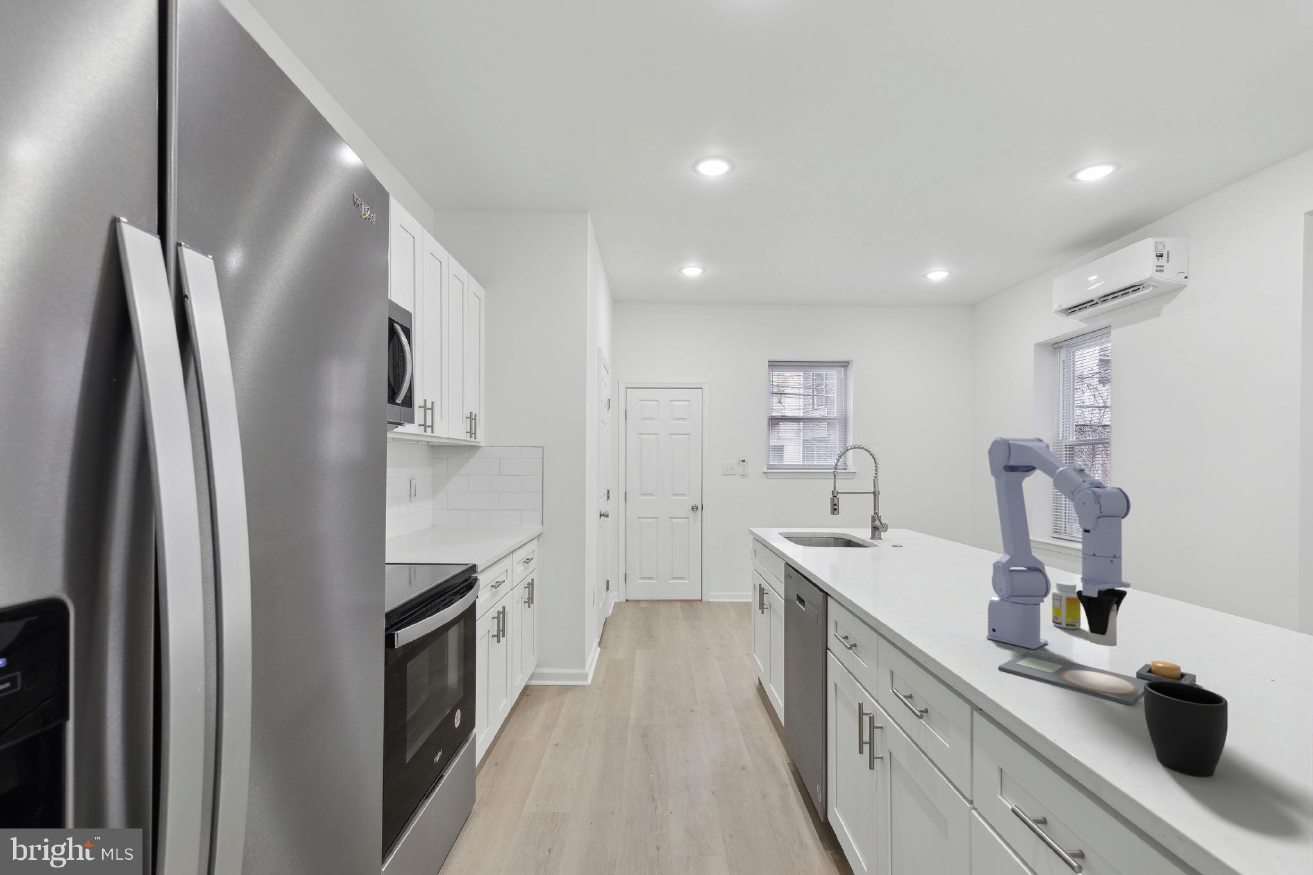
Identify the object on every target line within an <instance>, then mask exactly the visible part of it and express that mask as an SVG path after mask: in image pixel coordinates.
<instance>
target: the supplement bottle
mask: <svg viewBox="0 0 1313 875" xmlns="http://www.w3.org/2000/svg"><path fill="white" fill-rule="evenodd" d="M1081 606H1082V604H1081V602H1080V600H1079V599H1078V597H1077V584H1076V583H1074V582H1070V581H1060V580H1059V581H1058V580H1057V581H1056V582H1055V589H1053V590H1051V618H1052V619H1051V622H1052V624H1053V625H1054V626H1055V627H1057V628H1061V629H1066V630H1068V629H1069V630H1078V629H1080V628H1081V627H1082V626H1081V624H1082V623H1081V622H1082V621H1081V613H1082V612H1081V611H1082V610H1081Z"/></svg>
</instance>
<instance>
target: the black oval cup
mask: <svg viewBox="0 0 1313 875" xmlns="http://www.w3.org/2000/svg"><path fill="white" fill-rule="evenodd" d="M1228 705H1229V703H1228V700H1227V699H1226V697H1224V696H1222V695H1220V694H1218V693H1216V692H1214V691H1211V690H1209V689H1206V688H1203V687H1199V686H1196V685H1194V686H1192V685H1188V684H1183V683H1182V682H1180V681H1177V680H1170V681H1149V682H1146V683H1145V684H1144V695H1143V709H1144V710H1143V711H1144V718H1145V722H1146V727H1147V730H1148V735H1149V737H1150V741H1151V744H1152V746H1153V749H1154V752H1155V755H1156V759H1157V761H1158V762H1159V763H1160V764H1161V765H1163V766H1165V767H1166V768H1168V769H1171V770H1173V771H1174V772H1178V773H1181V774H1184V775H1187V776H1193V777H1198V778H1210V777H1212V776H1214V774H1215V771H1216V768H1217V766H1218V764H1219V762H1220V758H1221V756H1222V754H1223V750H1224V748H1225V744H1226V741H1227V735H1228V728H1229V726H1228V724H1229V720H1228V719H1229V718H1228V717H1229V715H1228V714H1229V710H1228V709H1229V708H1228V707H1229V706H1228Z"/></svg>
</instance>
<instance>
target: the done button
mask: <svg viewBox="0 0 1313 875" xmlns="http://www.w3.org/2000/svg"><path fill="white" fill-rule="evenodd" d="M1150 665H1151V673H1152V674H1154V675H1159V676H1163V677H1167V678H1171V679H1181V672H1182V671H1181V670H1182V669H1181V668H1182V667H1181V666H1180V665H1178V664H1174V663H1172V662H1167V661H1160V660H1152V661H1151V664H1150Z"/></svg>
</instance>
